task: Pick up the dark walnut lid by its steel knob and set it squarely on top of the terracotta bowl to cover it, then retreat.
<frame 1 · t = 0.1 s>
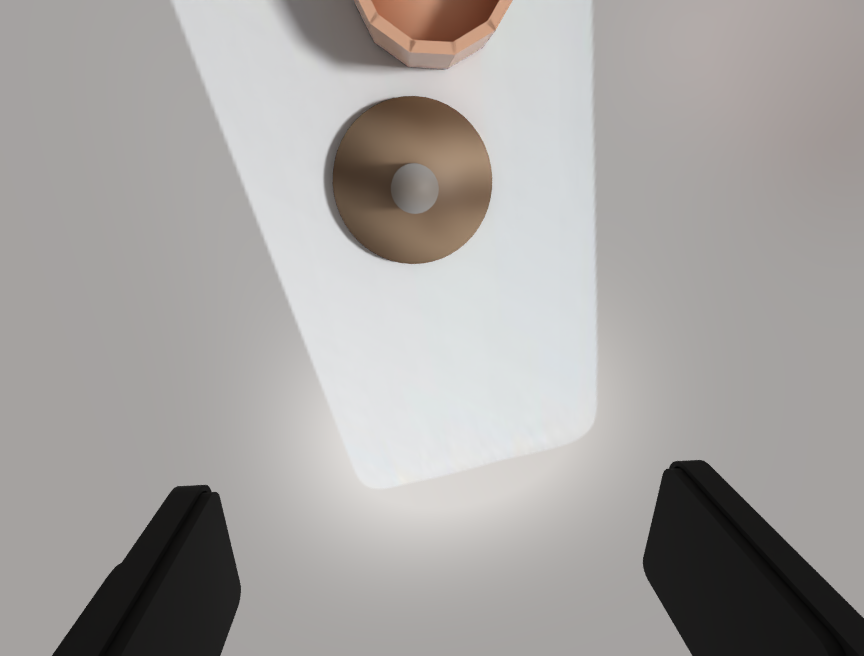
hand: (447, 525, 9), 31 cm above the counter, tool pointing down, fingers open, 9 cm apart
lid: (413, 184, 36), on the counter
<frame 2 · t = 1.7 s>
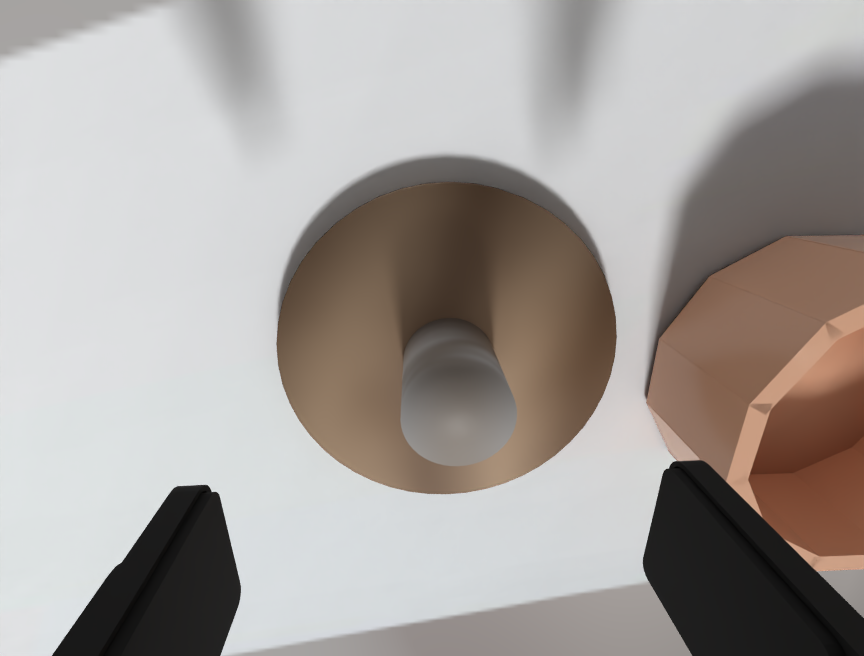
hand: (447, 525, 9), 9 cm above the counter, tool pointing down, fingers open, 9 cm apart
bowl: (781, 368, 18), on the counter
lid: (446, 349, 18), on the counter
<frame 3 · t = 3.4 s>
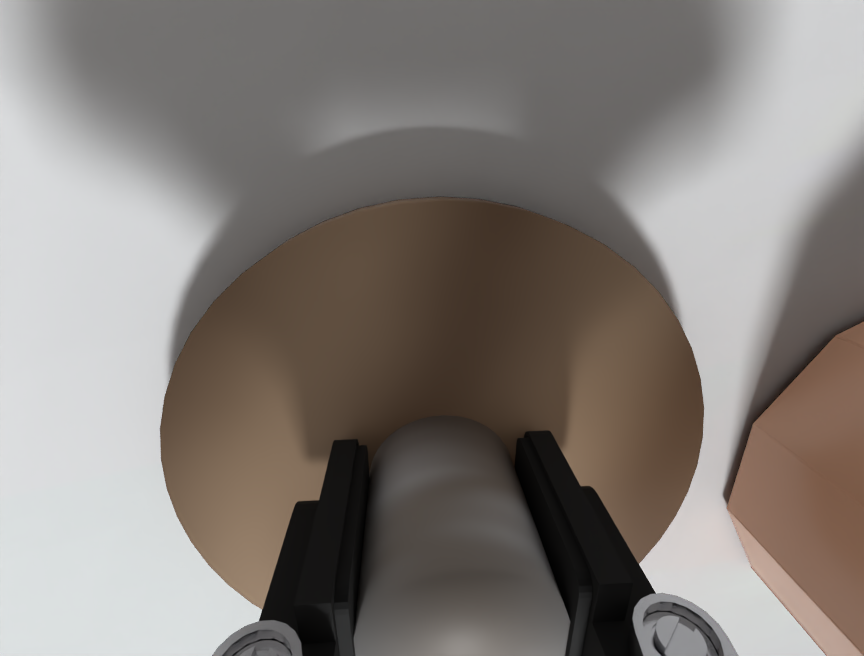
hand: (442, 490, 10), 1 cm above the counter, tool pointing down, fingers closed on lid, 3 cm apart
lid: (438, 450, 12), on the counter, touching gripper
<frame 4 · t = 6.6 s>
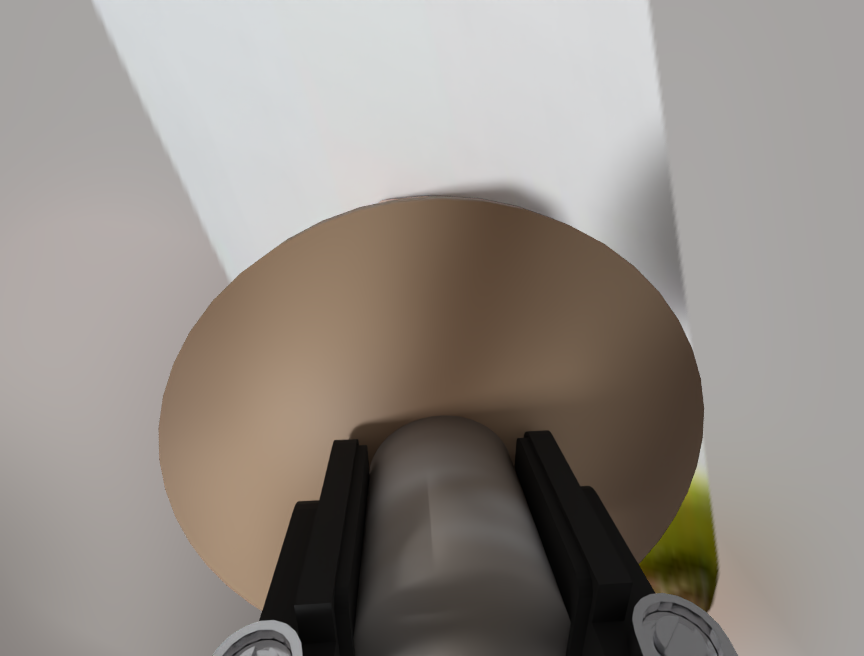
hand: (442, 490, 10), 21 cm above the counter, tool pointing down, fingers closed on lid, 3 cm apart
lid: (438, 451, 11), point 19 cm above the counter, touching gripper
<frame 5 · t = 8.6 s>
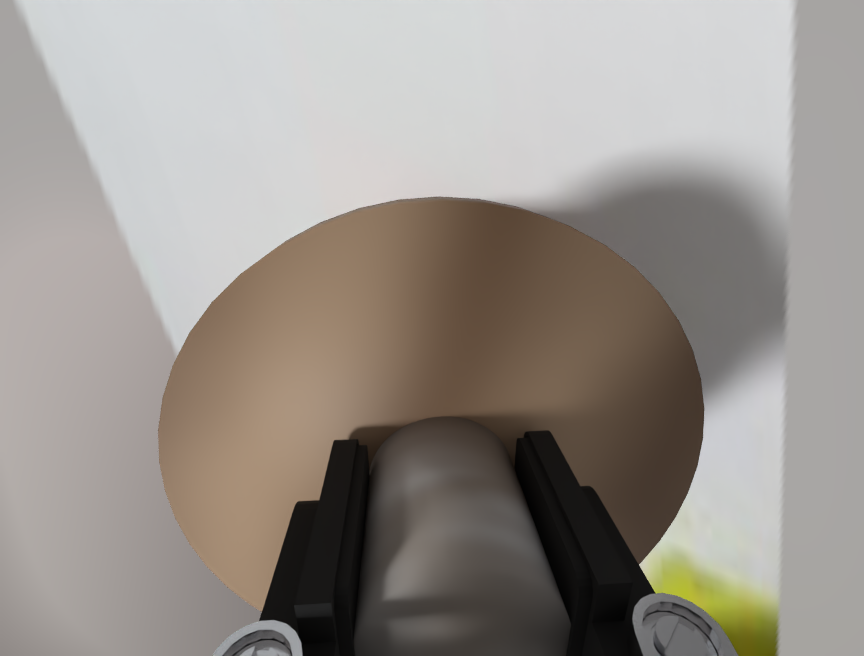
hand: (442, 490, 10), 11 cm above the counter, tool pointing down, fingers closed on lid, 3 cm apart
lid: (438, 451, 11), point 10 cm above the counter, touching gripper
when the fingers open (7 cm above the counter, at t = 10.1 s): lid stays where it is, resting on bowl.
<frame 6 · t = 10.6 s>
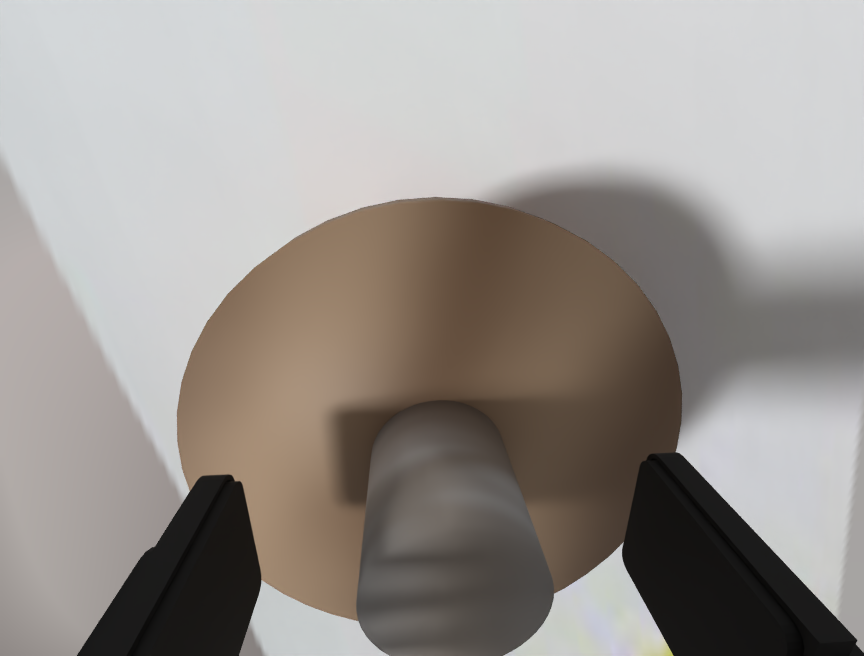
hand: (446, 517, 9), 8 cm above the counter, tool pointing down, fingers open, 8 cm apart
lid: (435, 435, 12), point 5 cm above the counter, touching bowl
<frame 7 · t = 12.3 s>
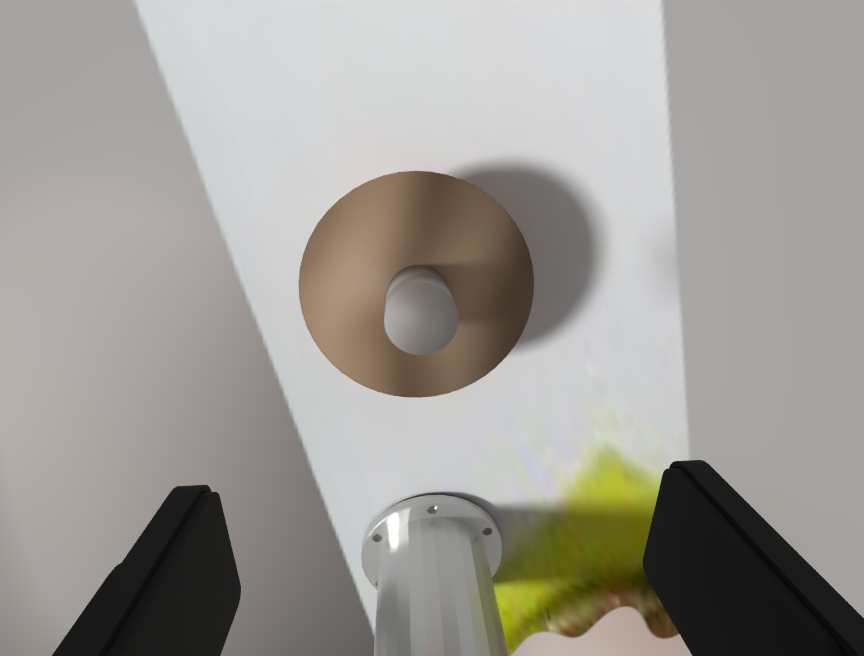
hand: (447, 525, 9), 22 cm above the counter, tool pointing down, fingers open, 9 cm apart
lid: (417, 290, 25), point 5 cm above the counter, touching bowl
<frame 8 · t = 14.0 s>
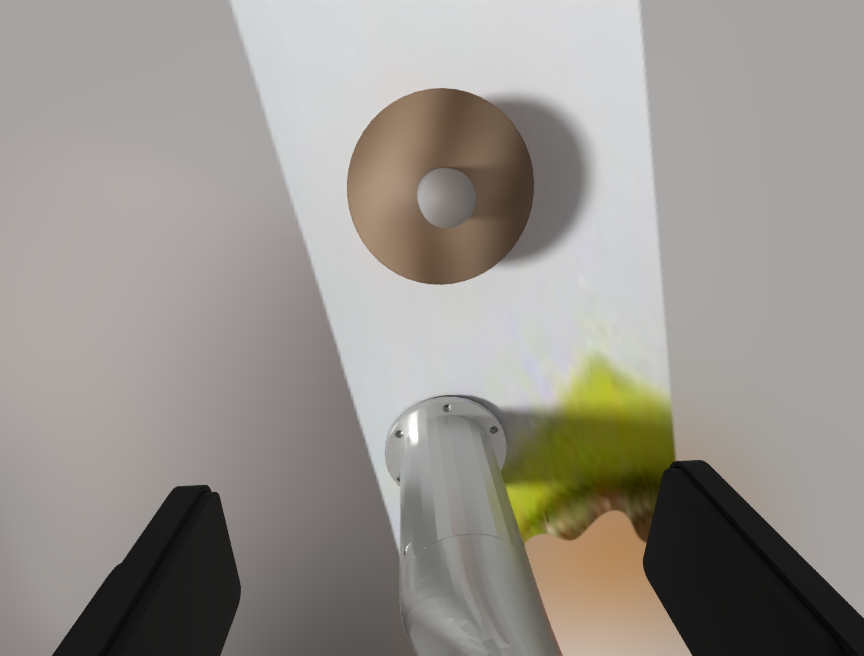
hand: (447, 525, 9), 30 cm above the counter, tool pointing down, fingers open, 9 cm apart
lid: (440, 193, 31), point 5 cm above the counter, touching bowl
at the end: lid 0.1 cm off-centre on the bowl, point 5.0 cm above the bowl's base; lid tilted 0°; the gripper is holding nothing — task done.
